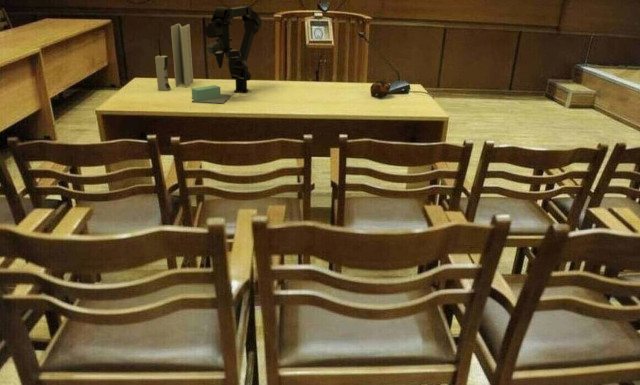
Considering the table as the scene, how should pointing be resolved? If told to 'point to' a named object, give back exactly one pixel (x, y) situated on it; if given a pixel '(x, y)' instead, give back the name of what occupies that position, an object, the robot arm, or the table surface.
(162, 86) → the vintage mobile phone
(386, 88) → the decorative turtle
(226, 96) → the rubber mat
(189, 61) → the brochure
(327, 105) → the table surface
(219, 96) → the teal block
